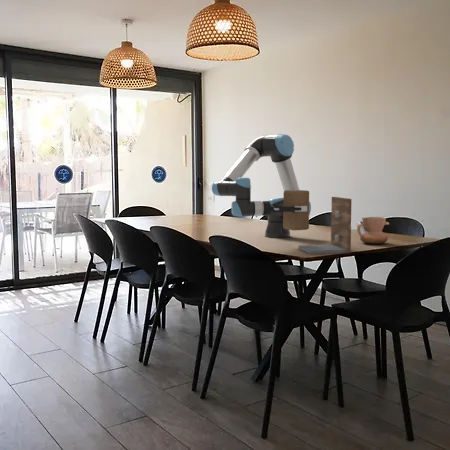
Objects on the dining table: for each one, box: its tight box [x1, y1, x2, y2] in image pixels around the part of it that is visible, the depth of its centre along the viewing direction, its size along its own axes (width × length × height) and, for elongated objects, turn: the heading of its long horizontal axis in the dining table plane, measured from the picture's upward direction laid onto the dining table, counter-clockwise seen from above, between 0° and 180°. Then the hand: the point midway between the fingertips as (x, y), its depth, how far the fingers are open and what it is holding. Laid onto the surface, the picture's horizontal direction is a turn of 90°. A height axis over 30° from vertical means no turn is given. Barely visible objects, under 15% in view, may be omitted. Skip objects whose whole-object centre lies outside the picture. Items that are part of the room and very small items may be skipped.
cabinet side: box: [330, 196, 352, 254], centre depth 261 cm, size 3×20×26 cm, turn 10°
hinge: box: [355, 220, 366, 234], centre depth 317 cm, size 17×5×10 cm, turn 178°
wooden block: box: [282, 189, 310, 231], centre depth 270 cm, size 10×10×20 cm
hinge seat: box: [297, 243, 347, 255], centre depth 260 cm, size 18×18×2 cm
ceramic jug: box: [356, 216, 390, 245], centre depth 283 cm, size 18×14×14 cm
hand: (303, 207), depth 270 cm, fingers closed on wooden block, 12 cm apart
